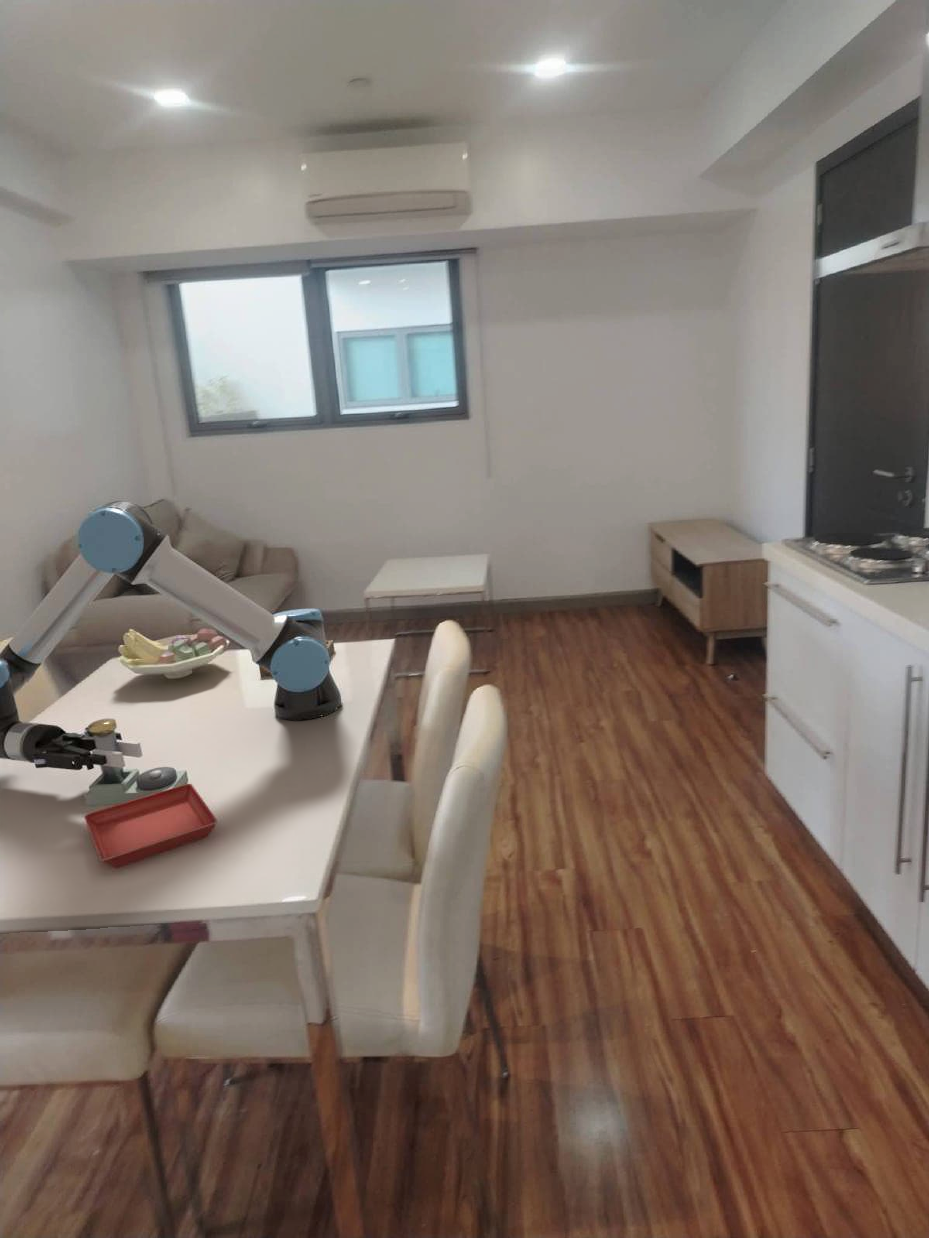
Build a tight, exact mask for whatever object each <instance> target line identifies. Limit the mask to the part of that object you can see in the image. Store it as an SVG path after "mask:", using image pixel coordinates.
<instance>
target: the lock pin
mask: <svg viewBox="0 0 929 1238" xmlns="http://www.w3.org/2000/svg"><path fill="white" fill-rule="evenodd" d="M87 727H88V728H89V733H90V734H91V735H93V736H94V741H95V745H96V749H98V750H107V751H115V752H119V748H118V744H117V739H116V735H115V732H116V731H115V730H116V729H117V727H118V726H117V722H116V719H114V718H103V719H99V720H96V721H93V722H91V723H89V724H88V726H87ZM99 766H100V771H101V774H102V776H103V780H104V784H105V785H106V784H121V783H122V782H123V781H124V780H125V776H124V771H123V770H124V767H123V768H119V767H111V766H104V765H99Z"/></svg>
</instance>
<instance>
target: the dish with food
mask: <svg viewBox="0 0 929 1238" xmlns="http://www.w3.org/2000/svg"><path fill="white" fill-rule="evenodd" d="M122 639H123V643H124V645H122V644H121V645H119V646H118V648H117V650H118V652H119V653H120V655H121V656H119V657H117V661H119V663H121V664H122V666H124V667H126V668H127V669H128V670H130V671H132V672H133V673H134V674H138V675H147V676H148V675H164V676H165V678H167V679H172V680H173V679H181V678H184V677H187V676H189V675H191V674H192V673H193V669H196V668H199V667H203V666H206V665H207V664H209V663H210V662H212V661H213V660H215V659H216V658H217V657H218V656H222V654H224V653H225V652H227V651H228V647H229V644H230V640H228V639H225V637H224V636H220V635H218V633H217V631H216V630H215V628H212V629H211V628H200V630H199V631H197V633H194V634H178V635H177V634H176V635H173V636H168V637H164V638H161V639H157V640H152V639H149V638H147V637H146V636H144V635H143V634H141V633H140V632H137V631H135V630H134V629H132V628H131V629H129V630H128V632H124V634H123V636H122Z"/></svg>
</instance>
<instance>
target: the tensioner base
mask: <svg viewBox="0 0 929 1238" xmlns="http://www.w3.org/2000/svg"><path fill="white" fill-rule="evenodd" d="M123 771H124V776H125V780H124V781H123V782H122V783H121V784H106V785H105V784H104V780H103V776H102V773H101V774H100V775H99V776H98V777H97V778H96V779H95V780H94V781H93V782H92V783H91V784H90V785H88V789H89V790H88V791H87V793H85V794H84V795H83V797H84V801H85V805H86V806H87V807H89V806H103V805H104V806H105V805H118V804H122V803H125V802H128V801H132V800H135V799H138V798H142V797H145V796H148V795H152V794H155V793H158V792H162V791H165V790H168V789H172V788H175V787H178V786H181V785H185V784H187V783H188V781H189V777H188V772H187V770H184V769H183V770H176V769H175V768H174V767H171V766H161V767H155V768H152V769H149V770H146V771H144V772H140V770H139V769H137V768H129V769H128V768H127V769H126V768H125V769H123Z"/></svg>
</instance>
